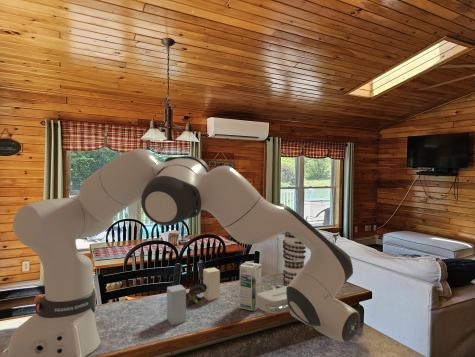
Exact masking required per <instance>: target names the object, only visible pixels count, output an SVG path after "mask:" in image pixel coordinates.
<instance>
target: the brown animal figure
mask: <svg viewBox="0 0 475 357" xmlns="http://www.w3.org/2000/svg"><path fill="white" fill-rule="evenodd" d="M206 289H207V287H206V285H205V284H204V283H203V282H198V283H195V284H194V285H192V286H190V288H189V290H188V292H186V308H187V307H188V306H189V305H190V303H191V301H192V302H194V303H196V304H197V305H199V300H198V299H200V300H201V299H202V297H200V296H198V295H201V294H203V292H205V291H206Z"/></svg>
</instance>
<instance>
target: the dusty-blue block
mask: <svg viewBox="0 0 475 357" xmlns="http://www.w3.org/2000/svg"><path fill="white" fill-rule="evenodd" d="M186 293H187V289H186V288H185V287H184V286H183V285H182V284H177V285H172V286H171V285H170V286H166V319H167V321H168V322H169V324H170V325H171V326H174V325H178V324H181V323H185V322H187V307H186Z"/></svg>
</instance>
